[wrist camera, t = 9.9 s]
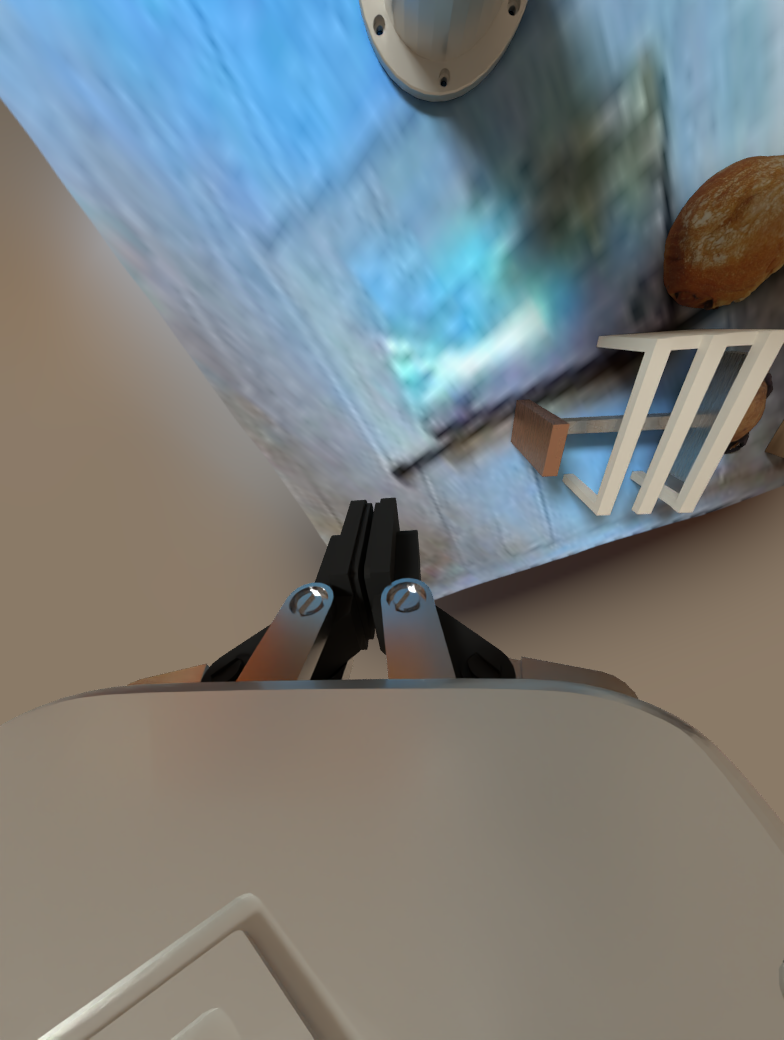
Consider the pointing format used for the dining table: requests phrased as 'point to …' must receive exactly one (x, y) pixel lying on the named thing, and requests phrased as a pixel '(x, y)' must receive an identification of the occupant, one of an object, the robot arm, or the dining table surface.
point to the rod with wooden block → (619, 424)
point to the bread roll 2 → (751, 415)
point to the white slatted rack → (679, 413)
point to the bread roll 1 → (728, 235)
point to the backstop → (777, 443)
